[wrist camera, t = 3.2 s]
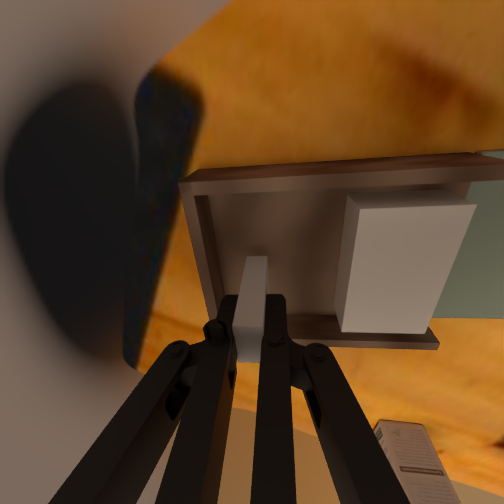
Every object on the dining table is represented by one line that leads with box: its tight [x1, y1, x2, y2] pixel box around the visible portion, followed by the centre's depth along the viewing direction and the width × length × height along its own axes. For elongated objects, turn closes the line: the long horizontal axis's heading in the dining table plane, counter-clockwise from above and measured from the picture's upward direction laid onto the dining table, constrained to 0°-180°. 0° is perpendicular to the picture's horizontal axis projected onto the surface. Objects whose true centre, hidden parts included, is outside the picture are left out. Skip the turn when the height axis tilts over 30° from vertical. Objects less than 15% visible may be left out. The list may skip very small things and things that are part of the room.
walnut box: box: [178, 152, 504, 350], centre depth 18 cm, size 18×14×4 cm
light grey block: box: [334, 190, 477, 334], centre depth 17 cm, size 6×10×3 cm, turn 5°
